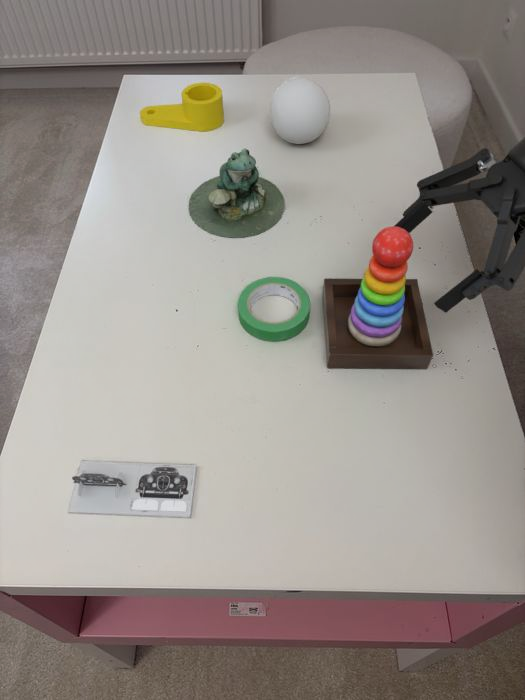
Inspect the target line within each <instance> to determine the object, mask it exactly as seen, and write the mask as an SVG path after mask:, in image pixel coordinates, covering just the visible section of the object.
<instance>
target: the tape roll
mask: <svg viewBox="0 0 525 700" xmlns="http://www.w3.org/2000/svg"><path fill="white" fill-rule="evenodd" d="M267 296H281V297H284V298H286V299H288V300H290V301H291V302H292V303H293V304H294V305H295V306H296V308H297V311H296V312H295V313H294V315H292V316H290V317H289V318H287V319H285V320H281V321H275V322H273V321H272V322H271V321H266V320H263V319H260V318H258V317H257V316H256V315H255V314H254V313H253V311H252V310H251V309H252V307H253V305H254V304H255V303H256V302H257V301H259V300H260V299H262V298H264V297H267ZM310 311H311V300H310V296H309V294H308V292H307V291H306V290H305V289H304V288H303V286H302V285H300V284H299V283H298V282H296V281H295V280H292V279H290V278H286V277H281V276H267V277H262V278H258V279H256V280H254V281H251V282H250V283H249V284H248V285H246V286H245V288H243V290H241V292H240V294H239V297H238V300H237V313H238V319H239V323H240V326H242V328H243V329H244V331H245V332H247V333H248V334H249V335H250V336H252V337H254V338H256V339H258V340H261V341H266V342H282V341H287V340H290V339H292V338H294V337H296V336H297V335H299V334H300V333H302V332H303V331H304V329H305V328H306V326H307V325H308V322H309V320H310Z"/></svg>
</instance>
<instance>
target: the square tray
mask: <svg viewBox="0 0 525 700" xmlns="http://www.w3.org/2000/svg"><path fill="white" fill-rule="evenodd" d="M362 279H363V278H324V279H323V285H322V294H321V295H322V309H323V324H324V341H325V355H326V356H325V357H326V369H327V370H328V369H331V370H332V369H334V370H335V369H338V370H339V369H340V370H342V369H343V370H348V369H350V370H358V369H359V370H428V368H429V365H430V363H431V361H432V359H433V357H434V352H433V348H432V344H431V338H430V334H429V328H428V324H427V319H426V315H425V314H426V313H425V309H424V306H423V305H424V304H423V299H422V295H421V291H420V286H419V281H418V279H417V278H406V282H405V292H404V295H405V301H404V305H403V306H404V310H403V314H402V322H401V331H400V334H399V335H398V337H397V338H396V339H395V340H394V341H393V342H392V343H390V344H388V345H384V346H379V347H374V346H368V345H365V344H363V343H361V342H359V341H358V340H357V339H355V338H354V337H353V335H352V334H351V333H350V331H349V328H348V317H349V315H350V313H351V309H352V306H353V305H354V303H355V299H356V297H357V295H358V291H359V289H360V287H361V282H362Z"/></svg>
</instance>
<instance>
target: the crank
mask: <svg viewBox="0 0 525 700" xmlns="http://www.w3.org/2000/svg"><path fill="white" fill-rule="evenodd" d="M181 101H182V103H174V104H173V103H172V104H161V105H160V104H159V105H158V104H157V105H148V106H145V107H143V108H141V109H140V111H139V115H140V120H141V123H142V124H143V125H145V126H150V127H159V128H167V129H168V128H169V129H177V130H185V131H186V130H187V131H195V132H210V131H214V130H217V129H219V128H220V127H222V125H223V124H224V122H225V115H224V101H223V91H222V88H221V87H220V86H218V85H217V84H214V83H210V82H195V83H192V84H190V85H187V86H186V87H184V88H183V89H182V90H181Z"/></svg>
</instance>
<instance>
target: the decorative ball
mask: <svg viewBox="0 0 525 700" xmlns="http://www.w3.org/2000/svg"><path fill="white" fill-rule="evenodd" d="M269 117H270V122H271V125H272V127H273V129H274V131H275V132H276V134H277V135H278V136H279V137H280V138H281V139H282V140H285V141H287V142H288V143H290V144H294V145H295V144H296V145H303V144H307V143H310V142H313V141H314V140H316V139H317V138H319V137H320V136H321V135H322V134H323V133H324V131H325V129H326V128H327V126H328V123H329V121H330V117H331V103H330V99H329V96H328V93H327V91H326V90H325V89H324V88H323V86H322V85H321V84H320V83H318V82H317V81H315V80H314V79H312V78H308V77H303V76H291V77H289V78H286V79H285V80H284V81H283V83H282V84H280V85H279V86H278V87H277V88H276V90H274V93H273V95H272V97H271V101H270V106H269Z"/></svg>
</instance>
